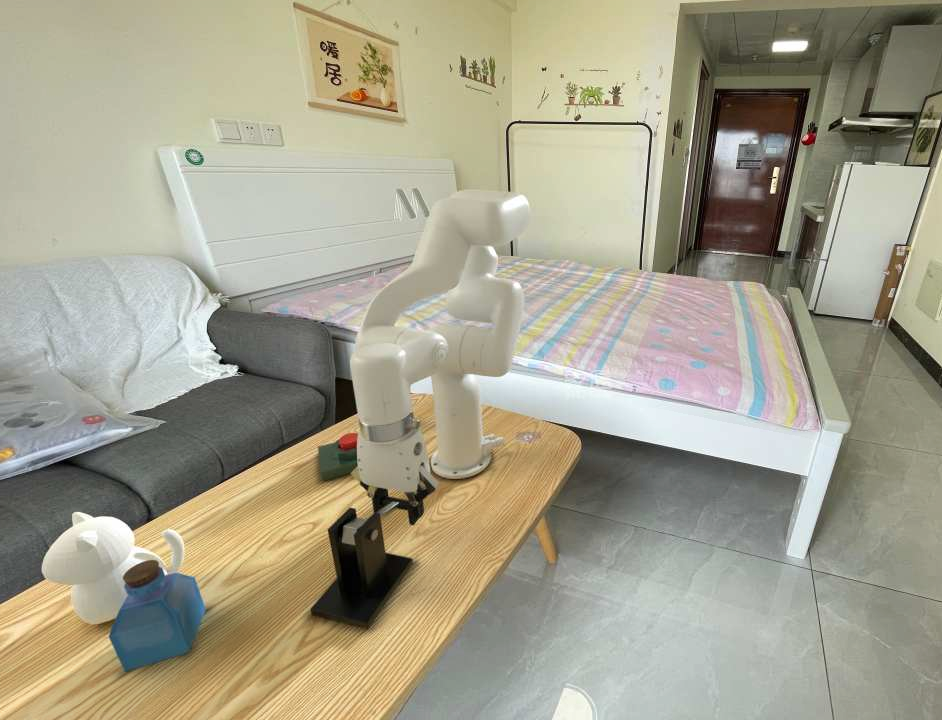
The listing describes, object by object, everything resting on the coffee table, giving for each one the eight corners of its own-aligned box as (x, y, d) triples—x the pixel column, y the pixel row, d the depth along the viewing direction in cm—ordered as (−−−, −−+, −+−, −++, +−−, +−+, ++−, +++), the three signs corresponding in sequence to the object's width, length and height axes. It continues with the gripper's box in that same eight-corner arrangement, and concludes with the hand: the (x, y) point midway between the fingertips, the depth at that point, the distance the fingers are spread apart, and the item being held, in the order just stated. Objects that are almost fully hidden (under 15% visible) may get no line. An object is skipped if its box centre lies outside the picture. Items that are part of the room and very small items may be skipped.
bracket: (363, 553, 71) (353, 489, 67) (413, 563, 70) (405, 500, 66) (311, 615, 61) (295, 545, 57) (368, 629, 60) (356, 559, 55)
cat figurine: (68, 608, 61) (26, 523, 55) (186, 553, 70) (159, 476, 65) (72, 652, 55) (27, 563, 50) (199, 586, 64) (172, 505, 59)
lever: (385, 505, 73) (386, 491, 73) (414, 511, 72) (416, 497, 72) (331, 540, 61) (332, 523, 61) (365, 548, 60) (367, 530, 60)
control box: (379, 439, 101) (377, 424, 100) (386, 463, 93) (384, 447, 92) (319, 455, 95) (316, 439, 93) (322, 481, 87) (319, 465, 86)
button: (359, 437, 95) (358, 430, 95) (362, 447, 92) (361, 440, 92) (339, 442, 93) (337, 435, 93) (340, 452, 90) (339, 445, 90)
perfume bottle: (124, 671, 53) (92, 600, 49) (148, 625, 59) (120, 558, 55) (188, 652, 56) (162, 583, 52) (205, 610, 61) (183, 544, 57)
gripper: (451, 418, 69) (457, 508, 75) (354, 403, 71) (368, 491, 78) (425, 445, 62) (435, 542, 68) (319, 428, 64) (338, 523, 71)
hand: (399, 514), depth 73 cm, fingers closed on lever, 5 cm apart
